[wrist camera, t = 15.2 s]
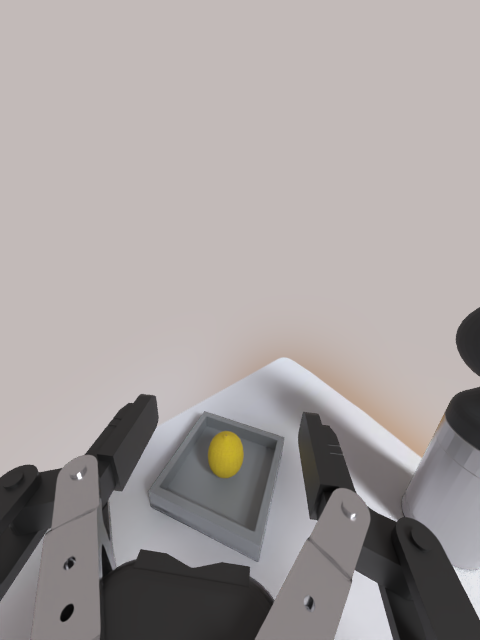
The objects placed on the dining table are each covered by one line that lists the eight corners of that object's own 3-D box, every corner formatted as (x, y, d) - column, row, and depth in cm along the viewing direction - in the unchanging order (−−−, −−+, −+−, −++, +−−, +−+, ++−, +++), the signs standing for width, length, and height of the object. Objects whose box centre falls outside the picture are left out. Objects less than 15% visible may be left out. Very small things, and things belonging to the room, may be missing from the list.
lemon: (214, 453, 40) (214, 417, 37) (245, 460, 39) (248, 424, 36) (202, 484, 35) (201, 446, 32) (237, 494, 34) (240, 456, 31)
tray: (282, 451, 42) (284, 437, 40) (258, 562, 28) (260, 546, 26) (204, 424, 47) (204, 411, 45) (150, 506, 32) (148, 491, 31)
